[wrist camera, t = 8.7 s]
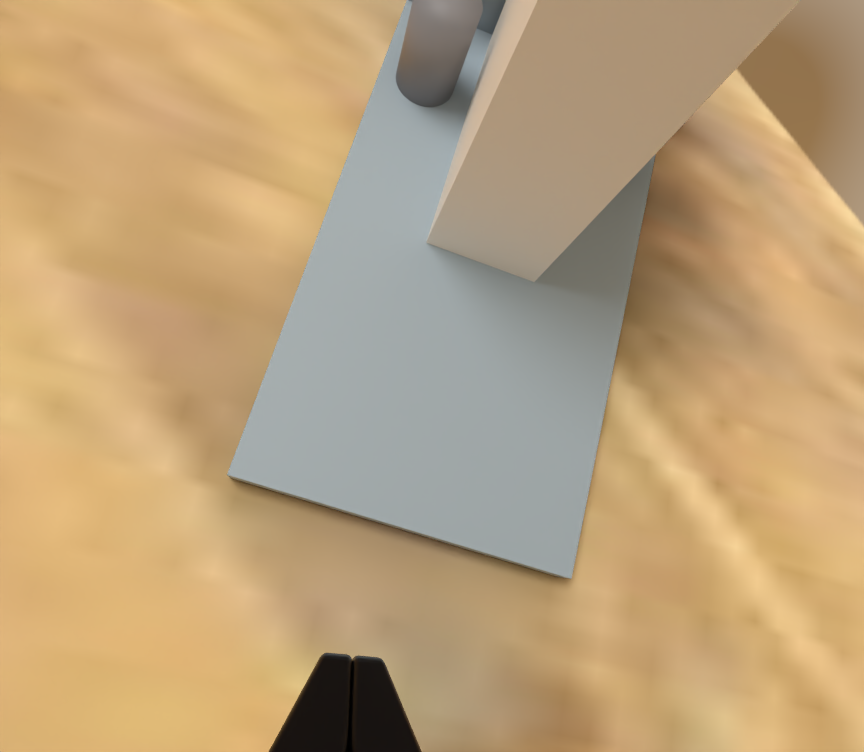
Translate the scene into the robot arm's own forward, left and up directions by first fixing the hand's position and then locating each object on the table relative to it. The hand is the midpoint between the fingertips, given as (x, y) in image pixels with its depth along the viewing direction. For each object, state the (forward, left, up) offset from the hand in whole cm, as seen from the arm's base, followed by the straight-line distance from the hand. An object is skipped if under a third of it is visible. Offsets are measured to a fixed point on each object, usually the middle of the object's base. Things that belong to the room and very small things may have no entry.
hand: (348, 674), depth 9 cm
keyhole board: (+6, -13, -13) cm, 19 cm away
